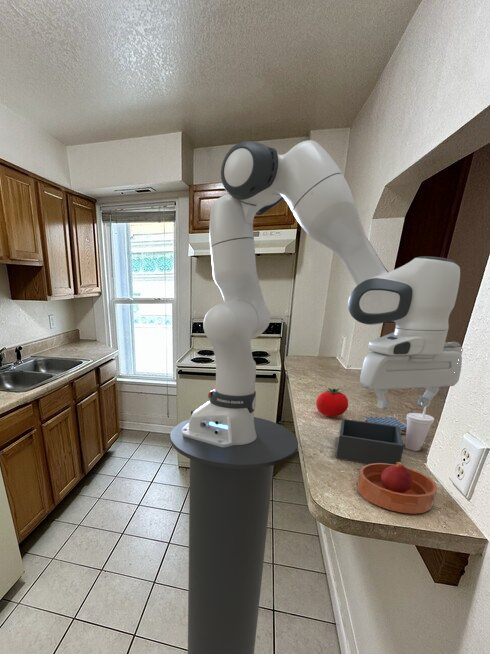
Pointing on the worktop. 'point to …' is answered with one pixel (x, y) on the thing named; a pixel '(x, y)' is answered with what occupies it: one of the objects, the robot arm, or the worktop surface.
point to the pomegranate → (397, 478)
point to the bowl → (408, 502)
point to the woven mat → (388, 422)
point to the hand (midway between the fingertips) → (402, 407)
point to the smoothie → (417, 429)
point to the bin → (369, 442)
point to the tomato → (332, 403)
